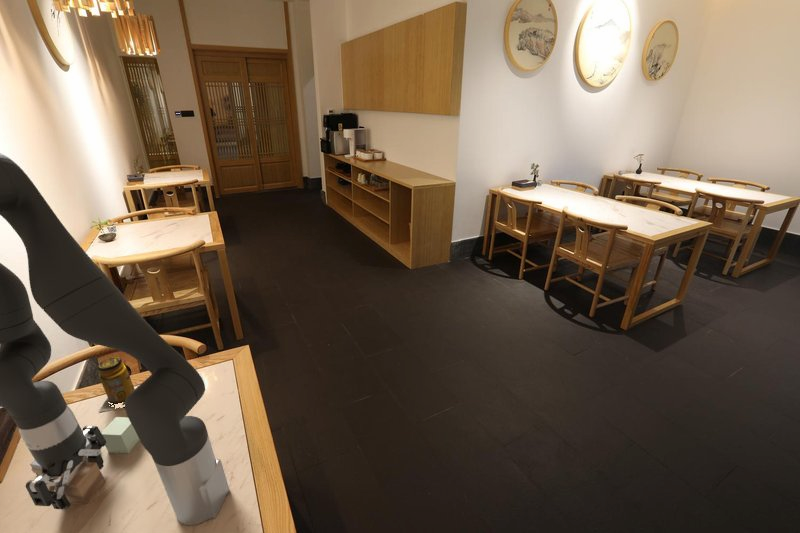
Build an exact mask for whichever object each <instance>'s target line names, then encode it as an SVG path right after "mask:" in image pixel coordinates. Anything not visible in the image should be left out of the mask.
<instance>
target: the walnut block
mask: <svg viewBox="0 0 800 533" xmlns="http://www.w3.org/2000/svg"><path fill="white" fill-rule="evenodd" d="M56 480H61V476H60V477H59V478H58V479H56ZM105 483H106V479H105V477H104V475H103V473H102V471H101V470H100V469H99V467H98V465H97V463H91V462H81V463H80V464H79V465H77V466H76V467H75V469H74V470H73V471H72V473H71V474H69V479H68V483H67V484H66V485H65V486H64V491H63V494H65V496H66V497H67V499H68V501H69V503H70V504H76V505H77V504H79V505H88V504H89V502H90V501H91V499H93V497H94V496H95V494H97V492H98V491H99V490H100V489H101V487H102V486H103V485H104V484H105ZM56 488H57V487H56V486H55V488H54V491H56Z"/></svg>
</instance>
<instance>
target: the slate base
mask: <svg viewBox="0 0 800 533" xmlns="http://www.w3.org/2000/svg"><path fill="white" fill-rule="evenodd" d="M86 439H87V438H86ZM90 448H91V444H90V442H89V441H88V439H87V442H86V447H85V449H90ZM87 457H88V456H84V457H83V459H82V460H83V461H82V462H88V460H87ZM29 466H31V467H30V468H31V471H32V473H33V474H34V473H35V475H36V476H37V477H39V476H40V475H41V474H42V467H41V466H40V465H39V464H38V463H37V462H36V461H35V459H34V460H33V461H31V462H30V463H29ZM59 477H60V476H56V477H55V479H56V480H57V479H58V478H59Z"/></svg>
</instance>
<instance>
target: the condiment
mask: <svg viewBox="0 0 800 533" xmlns="http://www.w3.org/2000/svg"><path fill="white" fill-rule="evenodd" d="M96 368H97V370H98V378H99V381H100V384H101V385H102V387H103V390H104V391H105V394H106V396H107V397H106V399H105V401H104V402H103V404H102V405H101V407H100V408H99V409H98V413H99V412H100V413H101V412H107V411H108V412H109V411H115V410H116V409H117V410H120V409H122V408H120V407H119V409H118V408H116V409H115V405H114V404H118V403H122V402H125V401H126V398H127V397H128V395H129V394H130V393H131V392H132V391H134V390H135V388H134V386H135V385H134V384H133V381H132V379H131V376H130V373H129V371H128V369H127V367H126V365H125V364H124V363H123V360H122V358H121V357H119V356H114V357H113V356H112V357H107V358H105V359H103V360H101V362H99V363H98V365H97V367H96ZM136 386H137V387H138V386H139V385H136ZM108 402H110V403H113V404H112V405H114V407H111V406H112V405H111V404H109V403H108ZM109 405H110V406H109Z"/></svg>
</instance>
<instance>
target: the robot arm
mask: <svg viewBox="0 0 800 533" xmlns="http://www.w3.org/2000/svg"><path fill="white" fill-rule="evenodd" d="M0 216H1V217H2V218H3V219H4V220H5V221H6V222H7V223H8V224H9V226H11V227H12V229H13V231H14V232H15V233H16V234H17V235H18V237H19V238H20V239H21V241H22V243H23V246H24V248H25V251H26V254H27V266H28V267H27V268H28V280H29V286H30V287H29V288H30V292H31V295H32V297H33V299H34V301H35V303H36V304H37V305H38V306H39V307H40V309H41V310H43V312H45V314H46V315H47V316H48V317H49V318H50V319H51V320H52V321H53V322H54V323H55V324H56V325H57V326H58V327H59V328H60V329H61V330H62V331H63V332H64V333H66V334H67V335H70V336H71V337H74V338H76V339H78V340H81V341H85V342H86V343H91V344H95V345H98V346H102V347H106V348H110V349H113V350H116V351H120V352H122V353H125V354H126V355H129V356H131V357H133V358H134V359H135V360H136V361H138V362H139V364H141V365H143V367H145V368H146V369H147V371H148V372H149V373H150V375H149V377H147V378H146V379H145V380H144V381H143V382H141V384H139V385H137V386H138V387H137V388H136V389H135V390H134V391H132V392H131V393H130V394H129V395H128V397H127V398H126V401H125V408H124V409H125V413H126V415H127V417H128V418H129V420H130V422H131V424H132V426H133V428H134V429H135V431H136V433H137V435H138V437H139V439H140V440H139V441H140V443H141V444H142V447H143V448H144V449H145V450H146V451H147V453H148V454H149V455H150V456H151V458H152V460H153V463H154V465H155V468H156V471H157V472H158V475H159V478H160V480H161V482H162V485H163V487H164V490H165V492H166V495H167V497H168V499H169V502H170V505H171V507H172V509H173V512H174V515H175V517H176V518H177V521H178V522H179V523H181V524H182V525H185V526H195V525H198V524H202V523H204V522H206V521H207V520H210V519H216V518H217V516H218V513H219V512H220V509H221V508H222V505H223V503H224V502H225V500H226V497H227V495H228V493H229V491H230V486H229V484H228V480H227V476H226V473H225V470H224V466H223V463H222V460H221V459H217V458H216V455H215V453H214V449H213V446H212V443H211V440H210V436H209V433H208V429H207V426H206V423H205V422H204V420H202V419H201V418H199V417H198V416H194V415H188V413H190V411H191V410H192V409H193V408H194V407H195V406H196V404H198V403H199V401H200V400H201V399H202V398H203V395H204V394H205V392H206V385H205V381H204V379H203V377H202V375H201V374H200V373H199V372H198V370H197V369H196V368H195V367H194V366H193V365H192V364H191V363H190V362H189V361H188V360H187V359H186V358H184V357H183V356H182V354H180V353H179V352H178V351H177V350H176V349H175V348H174V347H173V346H172V345H170V343H168V342H167V341H166V340H165V339H164V338H163V337H162V336H161V335H160V334H159V333H158V332H157V330H155V329H154V328H153V327H152V326H151V324H149V323H148V321H146V319H145V318H144V317H143V316H142V315H141V314H140V313H139V311H137V309H135V307H134V306H133V305H132V304H131V302H130V301H129V300H128V299H127V297H125V295H124V294H123V293H122V291H121V290H120V289H119V288H118V287H117V286H116V285H115V284H114V282H113V281H112V280H111V278H109V277H108V275H107V274H106V273H105V272H104V271H103V270H102V269H101V268H100V267H99V265H97V264H96V263H95V261H94V260H93V259H92V258H91V257H90V256H89V255H88V254H87V253H86V251H85V250H84V249H83V247H82V246H81V245H80V244H79V242H78V241H77V240H76V239H75V238H74V236H72V234H71V233H70V232H69V231H68V229H67V228H66V227H65V226H64V225H63V223H62V222H61V220H60V219H59V217H58V216H57V214H56V213H55V212H54V211H53V209H52V207H51V206H50V204H49V203H48V202H47V201H46V199H45V197H44V196H43V195H42V194H41V192H40V190H38V188H37V187H36V185H35V184H34V182H33V181H32V180H31V177H29V176H28V174H26V172H25V171H24V170H23V169H22V168H21V167H20V165H19V164H17V163H16V162H15V161H14V160H13V159H11V158H10V157H9V156H7V155H5V154H3V153H1V152H0ZM51 357H52V345H51V343H50V340H49V339H48V337H47V336H46V334H45V333H44V332H43V330H42V329H41V327H40V326H39V324H38V323H37V322H36V321H35V320H34V315H33V310H32V306H31V302H30V296H29V293H28V291H27V288H26V286H25V284H24V283H23V281H22V280H21V279H20V277H18V276H17V275H16V274H15V273H14V272H13V271H12V270H10V269H9V268H8V267H6V265H4V264H3V263H2V262H0V407H2V408H3V409H5V410H6V412H8V413H9V415H10V417H11V418H12V420H13V421H14V424H15V425H16V426H17V428H18V431H19V435H20V437H21V440H22V441H23V442H24V445H25V446H26V447H27V449H28V451H29V452H30V454H31V455H32V457H33V458H34V460H35V461H36V462H37V463H38V464H39V465H40V466H41V467H42V474H41V475H40V476H37V477H36V478H35V479H34V480H32V479H31V480H28V481H27V482H26V484H25V488H26V490H27V492H28V494H29V497H30V498H31V501H32V502H33V504H34V506H37V507H50V506H52V508H53V509H54V510H62V511H63V510H68V509H69V508H70V506H71V504H72V503H69V501H68V499H67V497H66V496H65V494H63V491H64V486H65V485H66V484H67V483H68V479H69V474H71V473H72V471H73V470H74V469H75V467H76V466H77V465H79V464H80V463H81V462H82V461H83V460H82V459H83V457H84V456H88V457H87V460H88V462H91V463H97V465H98V467H99V469H100V471H101V470H102V469H103V468H104V466H105V465H104V459H103V458H102V455H101V453H102V448H104V447H106V446H105V445H106V440H105V439H104V437H103V435H102V433H101V432H102V431H101V430H100V428H99V427H98V426H97V425H85V426H83V428H81V426H80V424H79V422H78V420H77V418H76V415H75V414H74V412H73V409H71V408H70V406H69V405H68V403H67V402H66V400H65V397H64V395H63V393H62V392H61V390H60V388H59V387H58V386H57V384H55V383H54V382H53V381H51V380H50V381H49V380H40V381H34V382H33V379H34V378H35V377H36V376H37V375H38V373H40V371H42V369H43V368H44V367H46V365H47V364H48V363H49V361H50V360H51ZM86 438H87V439H88V441H89V442H90V444H91V448H90V449H85V447H86V442H87V439H86ZM56 476H61V480H57V479H55V477H56ZM55 486H56V487H57V488H56V490H55Z"/></svg>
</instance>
